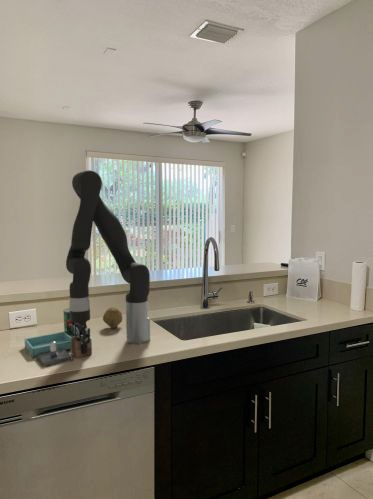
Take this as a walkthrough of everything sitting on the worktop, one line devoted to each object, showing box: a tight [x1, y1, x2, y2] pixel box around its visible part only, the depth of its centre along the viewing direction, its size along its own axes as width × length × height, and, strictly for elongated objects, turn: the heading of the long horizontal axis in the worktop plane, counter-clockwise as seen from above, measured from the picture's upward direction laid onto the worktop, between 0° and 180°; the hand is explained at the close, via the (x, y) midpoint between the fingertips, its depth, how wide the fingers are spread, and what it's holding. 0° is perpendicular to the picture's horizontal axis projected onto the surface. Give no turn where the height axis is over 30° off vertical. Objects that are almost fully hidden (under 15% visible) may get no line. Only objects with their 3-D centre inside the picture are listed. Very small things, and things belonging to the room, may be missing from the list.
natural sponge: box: [102, 306, 123, 329], centre depth 175 cm, size 9×9×10 cm
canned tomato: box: [63, 307, 73, 337], centre depth 166 cm, size 8×8×11 cm
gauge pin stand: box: [36, 342, 73, 368], centre depth 136 cm, size 10×10×7 cm
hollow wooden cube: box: [70, 336, 93, 358], centre depth 141 cm, size 6×6×6 cm
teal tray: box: [24, 331, 72, 359], centre depth 148 cm, size 16×14×4 cm
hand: (81, 350), depth 142 cm, fingers closed on hollow wooden cube, 6 cm apart
